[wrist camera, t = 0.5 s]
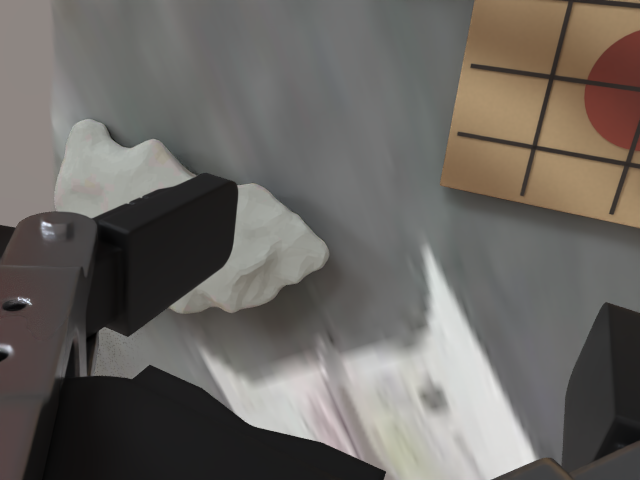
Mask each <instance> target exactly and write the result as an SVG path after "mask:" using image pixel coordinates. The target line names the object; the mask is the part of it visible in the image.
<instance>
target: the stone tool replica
mask: <svg viewBox="0 0 640 480" xmlns="http://www.w3.org/2000/svg"><path fill="white" fill-rule="evenodd" d="M194 177H196V175H194V174H193V173H191V172H190V171H189V170H187V169H186V168H185V167H184V166H183V165H182V164H181V163H180V162H179V161H178V160H177V159H176V158H175V157H174V156H173V154H172V153H171V152H170V151H169V150H168V149H167V148H166V147H165V146H164V145H163V144H162V143H161V142H160V141H159V140H155V139H151V140H147V141H145V142H143V143H141V144H139V145H137V146H135V147H133V148H126V147H123V146H121V145H119V144H117V143H116V142H115V141H113V140H112V139H111V137H110V135H109V132H108V130H107V128H106V126H105V125H104V124H102V123H100V122H97V121H94V120H92V119H86V120H83V121H80V122H78V123H76V124H75V125H74V126H73V128H72V130H71V132H70V135H69V137H68V140H67V142H66V149H65V157H64V160H63V162H62V164H61V169H60V172H59V175H58V178H57V183H56V188H55V194H54V202H55V207H56V210H57V211H64V212H73V213H78V214H82V215H85V216H87V217H89V218H94V217H96V216H98V215H100V214H103V213H105V212H107V211H109V210H112V209H114V208H116V207H119V206H121V205H123V204H125V203H127V204H129V202H130V201H132V200H135V199H137V198H139V197H140V198H142V196H144V195H146V194H148V193H151V192H153V191H155V190H157V189H161V188H167V187H173V186H176V185H178V184H180V183H183V182H185V181H187V180H189V179H191V178H194ZM237 186H238V204H237V214H236V224H235V234H234V243H233V249H232V252H231V255H230V257H229V259H228V261H227V263H226V264H225V265H224V266H223V268H221V269H220V270H219V271H217V272H216V273H215V274H213V275H212V276H211V277H209V278H208V279H206V280H205V281H204V282H202V283H201V284H200V285H198V286H197V287H196V288H194V289H193V290H191V291H190V292H189V293H187V294H186V295H185V296H183V297H182V298H180V299H179V300H178V301H176V302H175V303H174V304H172V305H171V306H170V307H168V308H170V309H172V310H173V311H175V312H177V313H182V314H188V313H197V312H201V311H203V310H205V309H207V308H209V307H219V308H221V309H223V310H224V311H226V312H229V313H235V312H237V311H238V310H241V309H244V308H252V307H256V306H260V305H262V304H265V303H267V302H269V301H271V300H272V299H274V298H275V297H276V295H277V294H278V292H279V291H280V289H282V288H283V287H284V286H286V285H290V284H296V283H299V282H300V281H301V280H302V279H303V278H304V277H305V276H307V275H308V274H310V273H311V272H313V271H316V270H319V269H321V268H322V267H323V266H324V265H325V263H326V261H327V260H328V258H329V249H328V247H327V245H326V244H325V242H324V241H323V240H322V239H320V238H319V237H318V236H317V235H316V234H314V233H313V231H312V230H311V229H310V228H309V227H308V226H307V225H306V224H305V222H304V221H303V220H302V219H301V217H300V216H299V215H298V214H296V213H293V212H291V211H290V210H289V209H288V208H287V207H286V206H285V205H283V204H282V203H280V202H279V201H278V200H277V199H276V198H275V197H274V196H273V195H272V194H271V193H270V192H269V191H268V190H267V189H266V188H264V187H262V186H260V185H258V184H255V183H250V184H244V185H237Z"/></svg>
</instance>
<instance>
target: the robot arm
mask: <svg viewBox="0 0 640 480" xmlns="http://www.w3.org/2000/svg"><path fill="white" fill-rule="evenodd" d="M237 204H238V186H237V184H236V183H235V182H233V181H230V180H227V179H224V178H221V177H217V176H214V175H211V174H208V173H203V174H200V175H198V176H196V177H194V178H191V179H189V180H187V181H185V182H183V183H180V184H178V185H176V186H173V187H167V188H161V189H157V190H155V191H153V192H151V193H148V194H146V195H144V196H142V198H140V197H139V198H137V199H135V200H132V201H130V202H129V204H127V203H125V204H123V205H121V206H119V207H116V208H114V209H112V210H109V211H107V212H105V213H103V214H100V215H98V216H96V217H94V218H89V217H87V216H85V215H82V214H78V213H73V212H64V211H55V212H45V213H39V214H36V215H32V216H29V217H27V218H25V219H23V220H22V221H20V222H19V223H18V225H17V226H16V228H14V227H8V226H2V225H0V480H384V477H385V474H386V471H383V470H381V469H379V468H377V467H374V466H372V465H370V464H368V463H366V462H363V461H361V460H359V459H357V458H355V457H352V456H350V455H348V454H346V453H344V452H341V451H339V450H337V449H335V448H333V447H330V446H328V445H326V444H324V443H321V442H317V441H313V440H308V439H304V438H300V437H295V436H291V435H287V434H283V433H278V432H274V431H270V430H265V429H261V428H257V427H254V426H251V425H249V424H248V423H246V422H245V421H243V420H242V419H241V418H240V417H238V416H237V415H236V414H234V413H233V412H232V411H231V410H229V409H228V408H227V407H225V406H224V405H223V404H221V403H220V402H219V401H218V400H216V399H215V398H214V397H212V396H211V395H210V394H209V393H207V392H206V391H205V390H203V389H202V388H200V387H198V386H196V385H193V384H191V383H189V382H187V381H185V380H182V379H180V378H178V377H176V376H173V375H171V374H169V373H167V372H165V371H162V370H160V369H158V368H156V367H154V366H151V365H149V366H148V367H147V368H145V369H144V370H143V371H142V372H141V373H139V374H138V375H137V376H136V377H134V378H133V379H128V378H121V377H113V376H94V374H95V367H96V361H97V354H98V347H99V330H100V329H102V328H103V327H107V328H109V329H111V330H114V331H116V332H118V333H120V334H123V335H125V336H127V337H129V336H130V335H131V334H133V333H134V332H135V331H137V330H138V329H140V328H141V327H142V326H144V325H145V324H146V323H148V322H149V321H150V320H152V319H153V318H155V317H156V316H157V315H159V314H160V313H161V312H163V311H164V310H165V309H167V308H168V307H170V306H171V305H172V304H174V303H175V302H176V301H178V300H179V299H180V298H182V297H183V296H185V295H186V294H187V293H189V292H190V291H191V290H193V289H194V288H196V287H197V286H198V285H200V284H201V283H202V282H204V281H205V280H206V279H208V278H209V277H211V276H212V275H213V274H215V273H216V272H217V271H219V270H220V269H221V268H223V266H224V265H225V264H226V263H227V261H228V259H229V257H230V255H231V252H232V249H233V243H234V234H235V224H236V214H237ZM492 480H640V313H638V312H635V311H632V310H629V309H626V308H623V307H619V306H616V305H613V304H610V303H607V302H606V303H604V304H603V306H602V307H601V309H600V311H599V313H598V315H597V317H596V319H595V322H594V324H593V326H592V328H591V331H590V333H589V335H588V337H587V339H586V342H585V344H584V346H583V348H582V351H581V353H580V355H579V357H578V360H577V362H576V364H575V366H574V369H573V371H572V374H571V377H570V380H569V383H568V387H567V391H566V397H565V414H564V432H563V451H562V467H561V466H560V465H559V464H558V463H557V462H556V461H555V460H554V459H552V458H542V459H539V460H536V461H534V462H532V463H529V464H527V465H525V466H522V467H520V468H518V469H515V470H513V471H511V472H508V473H506V474H503V475H501V476H499V477H496V478H494V479H492Z"/></svg>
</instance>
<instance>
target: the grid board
mask: <svg viewBox="0 0 640 480" xmlns="http://www.w3.org/2000/svg"><path fill="white" fill-rule="evenodd" d="M440 185H441V186H444V187H449V188H454V189H458V190H463V191H468V192H472V193H477V194H482V195H487V196H491V197H496V198H501V199H505V200H510V201H515V202H519V203H524V204H529V205H533V206H538V207H543V208H547V209H552V210H557V211H562V212H566V213H571V214H576V215H580V216H585V217H590V218H594V219H599V220H604V221H608V222H613V223H618V224H622V225H627V226H632V227H637V228H640V0H475V1H474V6H473V12H472V17H471V22H470V27H469V33H468V38H467V43H466V49H465V54H464V59H463V65H462V70H461V75H460V80H459V86H458V91H457V96H456V102H455V107H454V112H453V117H452V123H451V128H450V133H449V139H448V144H447V149H446V155H445V160H444V165H443V170H442V176H441V181H440Z"/></svg>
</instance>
